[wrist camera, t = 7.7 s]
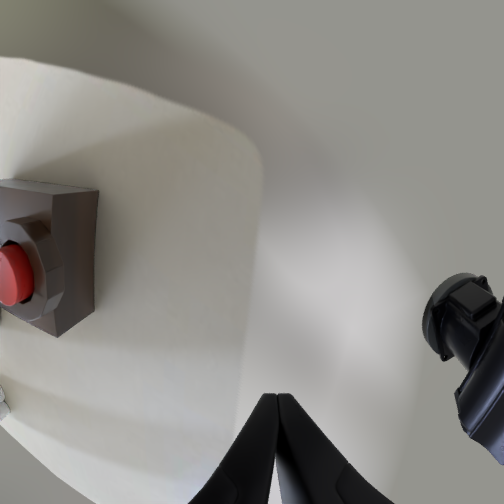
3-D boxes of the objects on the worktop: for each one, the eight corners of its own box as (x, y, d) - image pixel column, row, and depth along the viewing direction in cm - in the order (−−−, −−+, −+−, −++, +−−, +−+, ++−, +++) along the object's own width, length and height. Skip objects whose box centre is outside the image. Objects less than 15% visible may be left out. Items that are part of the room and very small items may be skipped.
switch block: (112, 192, 20) (46, 199, 13) (106, 315, 22) (55, 356, 15) (11, 178, 20) (-44, 183, 14) (11, 276, 23) (-37, 297, 16)
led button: (34, 249, 14) (14, 256, 12) (37, 304, 15) (20, 314, 13) (3, 238, 14) (-15, 244, 13) (7, 288, 15) (-10, 296, 13)
